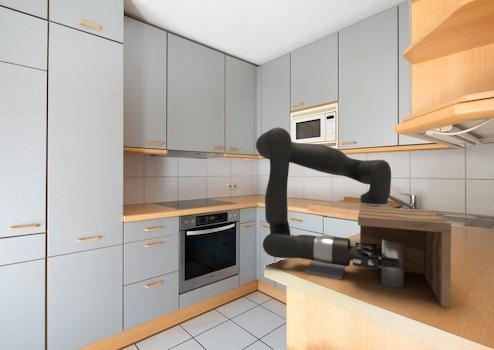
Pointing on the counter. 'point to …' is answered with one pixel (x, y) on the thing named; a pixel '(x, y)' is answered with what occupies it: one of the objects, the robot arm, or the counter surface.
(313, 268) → the rubber mat
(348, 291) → the counter surface
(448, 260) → the walnut desk
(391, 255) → the steel tin
